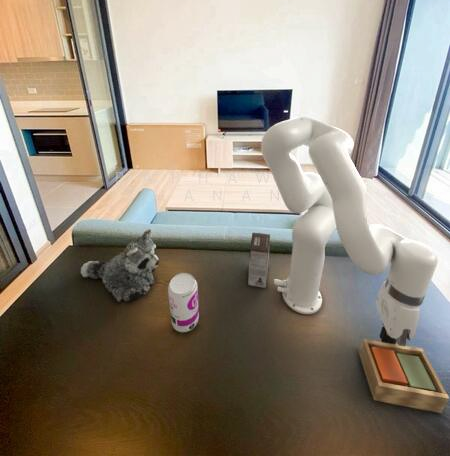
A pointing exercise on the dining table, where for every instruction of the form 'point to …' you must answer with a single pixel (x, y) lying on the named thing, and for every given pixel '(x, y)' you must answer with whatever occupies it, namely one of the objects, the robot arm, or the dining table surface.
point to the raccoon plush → (127, 269)
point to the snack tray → (402, 376)
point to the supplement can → (183, 302)
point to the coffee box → (258, 259)
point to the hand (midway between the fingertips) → (386, 340)
